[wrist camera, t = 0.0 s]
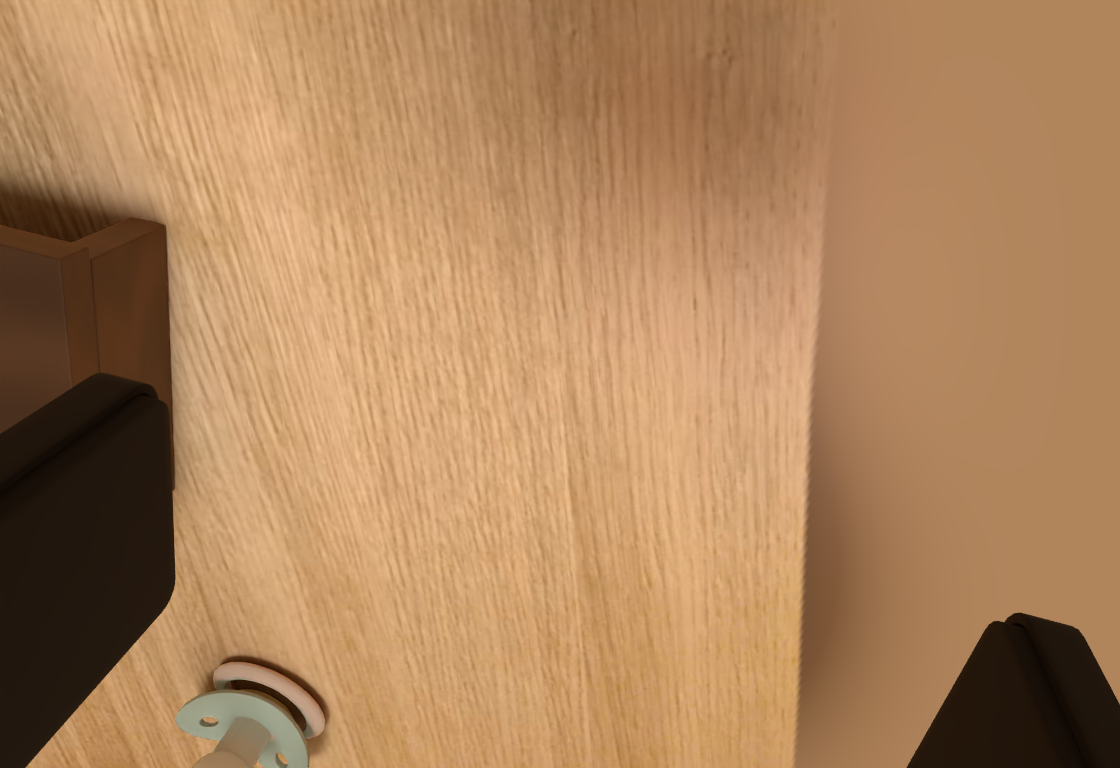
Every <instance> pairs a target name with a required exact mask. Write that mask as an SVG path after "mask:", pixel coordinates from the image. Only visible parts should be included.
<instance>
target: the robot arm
mask: <svg viewBox="0 0 1120 768" xmlns="http://www.w3.org/2000/svg"><path fill="white" fill-rule="evenodd" d="M174 586H175V553H174V526H173V498H172V471H171V443H170V416H169V409H168V406H167V404H166V403H165V402H163V401H161V400H159V399H158V394H157V392H156V390H155V388H154V387H153V386H151V385H150V384H147V383H143V382H139V381H135V380H131V379H128V378H124V377H120V376H116V375H112V374H109V373H96V374H94V375H92V376H90V377H88V378H87V379H85V380H83V381H82V382H80V383H79V384H77V385H76V386H74V387H73V388H71V389H69V390H68V391H66V392H65V393H63V394H62V395H60V396H59V397H57V398H55V399H54V400H52V401H51V402H49V403H48V404H46V405H44V406H43V407H41V408H40V409H38V410H37V411H35V412H34V413H32V414H30V415H29V416H27V417H26V418H24V419H23V420H21V421H20V422H18V423H16V424H15V425H13V426H12V427H10V428H9V429H7V430H6V431H4V432H2V433H1V434H0V768H25V767H26V766H27V765H28V764H29V763H30V762H31V761H32V759H33V758H34V757H35V756H36V755H37V754H38V753H39V751H40V750H41V749H42V748H43V747H44V746H45V745H46V743H47V742H48V741H49V740H50V739H51V738H52V737H53V736H54V734H55V733H56V732H57V731H58V730H59V729H60V728H61V726H62V725H63V724H64V723H65V722H66V721H67V720H68V718H69V717H70V716H71V715H72V714H73V713H74V712H75V710H76V709H77V708H78V707H79V706H80V705H81V704H82V703H83V701H84V700H85V699H86V698H87V697H88V696H89V695H90V693H91V692H92V691H93V690H94V689H95V688H96V687H97V685H98V684H99V683H100V682H101V681H102V680H103V679H104V677H105V676H106V675H107V674H108V673H109V672H110V671H111V670H112V668H113V667H114V666H115V665H116V664H117V663H118V662H119V660H120V659H121V658H122V657H123V656H124V655H125V654H126V652H127V651H128V650H129V649H130V648H131V647H132V646H133V644H134V643H135V642H136V641H137V640H138V639H139V638H140V637H141V635H142V634H143V633H144V632H145V631H146V630H147V629H148V627H149V626H150V625H151V624H152V623H153V622H154V621H155V619H156V618H157V617H158V616H159V615H160V614H161V613H162V611H163V610H164V609H165V607H166V606H167V604H168V602H169V600H170V598H171V596H172V593H173V590H174ZM907 768H1120V704H1119V702H1118V701H1117V699H1116V697H1115V695H1114V693H1113V691H1112V689H1111V687H1110V685H1109V683H1108V681H1107V680H1106V678H1105V676H1104V674H1103V672H1102V670H1101V668H1100V666H1099V664H1098V663H1097V661H1096V659H1095V657H1094V655H1093V653H1092V651H1091V649H1090V647H1089V646H1088V643H1087V642H1086V640H1085V638H1084V636H1083V635H1082V634H1081V632H1080V631H1079V630H1078V629H1076V628H1074V627H1072V626H1069V625H1066V624H1062V623H1058V622H1054V621H1050V620H1047V619H1042V618H1039V617H1035V616H1031V615H1027V614H1023V613H1014V614H1013V615H1011V616H1010V617H1008V618H1007V620H1006V621H1005V622H1000V621H994V622H992V623H991V624H989V625H988V627H987V628H986V629H985V631H984V633H983V634H982V636H981V638H980V640H979V641H978V643H977V645H976V647H975V648H974V650H973V652H972V654H971V655H970V657H969V659H968V661H967V663H966V664H965V666H964V668H963V670H962V672H961V673H960V675H959V677H958V678H957V680H956V682H955V684H954V685H953V687H952V689H951V691H950V693H949V694H948V696H947V698H946V699H945V701H944V703H943V705H942V706H941V708H940V710H939V712H938V714H937V715H936V717H935V719H934V720H933V722H932V724H931V726H930V728H929V729H928V731H927V733H926V735H925V736H924V738H923V740H922V742H921V743H920V745H919V747H918V749H917V750H916V752H915V754H914V756H913V757H912V759H911V761H910V763H909V764H908V766H907Z"/></svg>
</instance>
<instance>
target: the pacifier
mask: <svg viewBox="0 0 1120 768" xmlns="http://www.w3.org/2000/svg"><path fill="white" fill-rule="evenodd" d="M232 680H249V681H254V682H257V683H260V684H263V685H266V686H268V687H270V688H272V689H274V690H276V691H278V692H279V693H281V694H282V695H284V696H285V697H287V698H288V699H289V700H290V701H292V702H293V703H294V704H295V705H296V706H297V707H298V708H299V710H300V711H301V712H302V714H303V715H304V717H305V719H306V724H302V725H297V723H296V722H295V721H294V718H293V716H292V714H291V712H290V711H289V710H288V708H287V707H286V706H285V705H284V704H282V703H281V702H280V701H278V700H277V699H275V698H274V697H272V696H270V695H268V694H265V693H263V692H260V691H257V690H252V689H242V690H233V688H232V685H231V682H230V681H232ZM213 682H214V686H215V689H216V691H211V692H206V693H204V694H201V695H198V696H197V697H195V698H193V699H191V700H190V701H188V702H187V703H186V704H185V705H184V706H183V707H182V708H181V709H180V711H179V712H178V714H177V716H176V723H177V726H178V727H179V728H180V729H182V730H183V731H184V732H186V733H189V734H191V735H193V736H197V737H201V738H205V739H211V740H218V741H220V742H219V743H218V745H217V746H216V748H215V750H214V751H213V752H212V753H210V754H208V755H206V756H204V757H203V758H201V759H200V760H199V761H198V762H197V763H196V764H195V765H194V766H193V767H192V768H253V767H254V765H255V764H256V762H257V760H258V761H259V763H260V764H261V765H262V766H263V767H264V768H309V750H308V745H307V742H306V740H305V739H310V738H314V737H316V736H318V735H319V734H320V733H321V732H323V730H324V727H325V719H324V714H323V712H322V710H321V708H320V707H319V705H318V704H317V702H316V701H315V700H314V699H313V698H312V697H311V696H310V695H309V694H308V693H307V692H306V691H305V690H304V689H302V688H301V687H300V686H299V685H298V684H296V683H295V682H293V681H291V680H290V679H288V678H287V677H285V676H283V675H281V674H279V673H277V672H275V671H273V670H271V669H268V668H265V667H262V666H259V665H256V664H251V663H246V662H229V663H226V664H223V665H220V666H219V667H218V668H217V669H216V670H215V671H214V676H213ZM205 717H215V718H217V719H218V722H215V723H208V722H205V721H204V720H203V718H205ZM278 753H282V754H283V755H284V756H285V757H286V759H287V762H288V764H287V765H286V764H283V763H282V762H281V761H280V759H279V757H278Z"/></svg>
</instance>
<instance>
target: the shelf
mask: <svg viewBox="0 0 1120 768" xmlns="http://www.w3.org/2000/svg"><path fill="white" fill-rule="evenodd" d="M96 373H109V374H112V375H116V376H120V377H124V378H128V379H131V380H135V381H139V382H143V383H147V384H150V385H151V386H153V387H154V388H155V390H156V392H157V394H158V399H159V400H161V401H163V402H165V403H166V404H167V406H168V409H169V416H170V443H171V471H172V491H173V490H174V463H173V435H172V406H171V377H170V349H169V320H168V291H167V263H166V234H165V226H164V225H160V224H156V223H152V222H148V221H144V220H140V219H136V218H129V219H126V220H124V221H121V222H119V223H117V224H114V225H112V226H110V227H107V228H105V229H102V230H100V231H98V232H95V233H93V234H91V235H88V236H86V237H83V238H81V239H79V240H76V241H74V242H72V243H71V242H67V241H63V240H59V239H55V238H51V237H47V236H43V235H39V234H35V233H31V232H27V231H23V230H19V229H15V228H11V227H7V226H3V225H0V434H1V433H2V432H4V431H6V430H7V429H9V428H10V427H12V426H13V425H15V424H16V423H18V422H20V421H21V420H23V419H24V418H26V417H27V416H29V415H30V414H32V413H34V412H35V411H37V410H38V409H40V408H41V407H43V406H44V405H46V404H48V403H49V402H51V401H52V400H54V399H55V398H57V397H59V396H60V395H62V394H63V393H65V392H66V391H68V390H69V389H71V388H73V387H74V386H76V385H77V384H79V383H80V382H82V381H83V380H85V379H87V378H88V377H90V376H92V375H94V374H96Z"/></svg>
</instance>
